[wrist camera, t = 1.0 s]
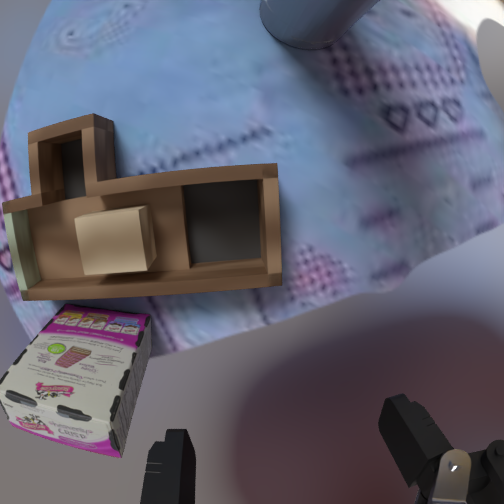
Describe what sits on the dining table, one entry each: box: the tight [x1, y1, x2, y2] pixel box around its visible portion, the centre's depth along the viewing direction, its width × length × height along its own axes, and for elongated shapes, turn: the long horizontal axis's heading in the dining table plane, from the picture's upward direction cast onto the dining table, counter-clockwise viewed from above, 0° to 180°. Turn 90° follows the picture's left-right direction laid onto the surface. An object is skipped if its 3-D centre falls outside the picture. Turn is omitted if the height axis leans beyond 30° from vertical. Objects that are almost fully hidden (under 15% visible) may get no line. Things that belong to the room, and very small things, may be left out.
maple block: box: [74, 204, 157, 275], centre depth 25 cm, size 5×6×4 cm
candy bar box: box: [0, 304, 152, 458], centre depth 23 cm, size 11×5×16 cm, turn 84°
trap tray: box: [2, 113, 282, 301], centre depth 25 cm, size 16×27×5 cm, turn 93°
